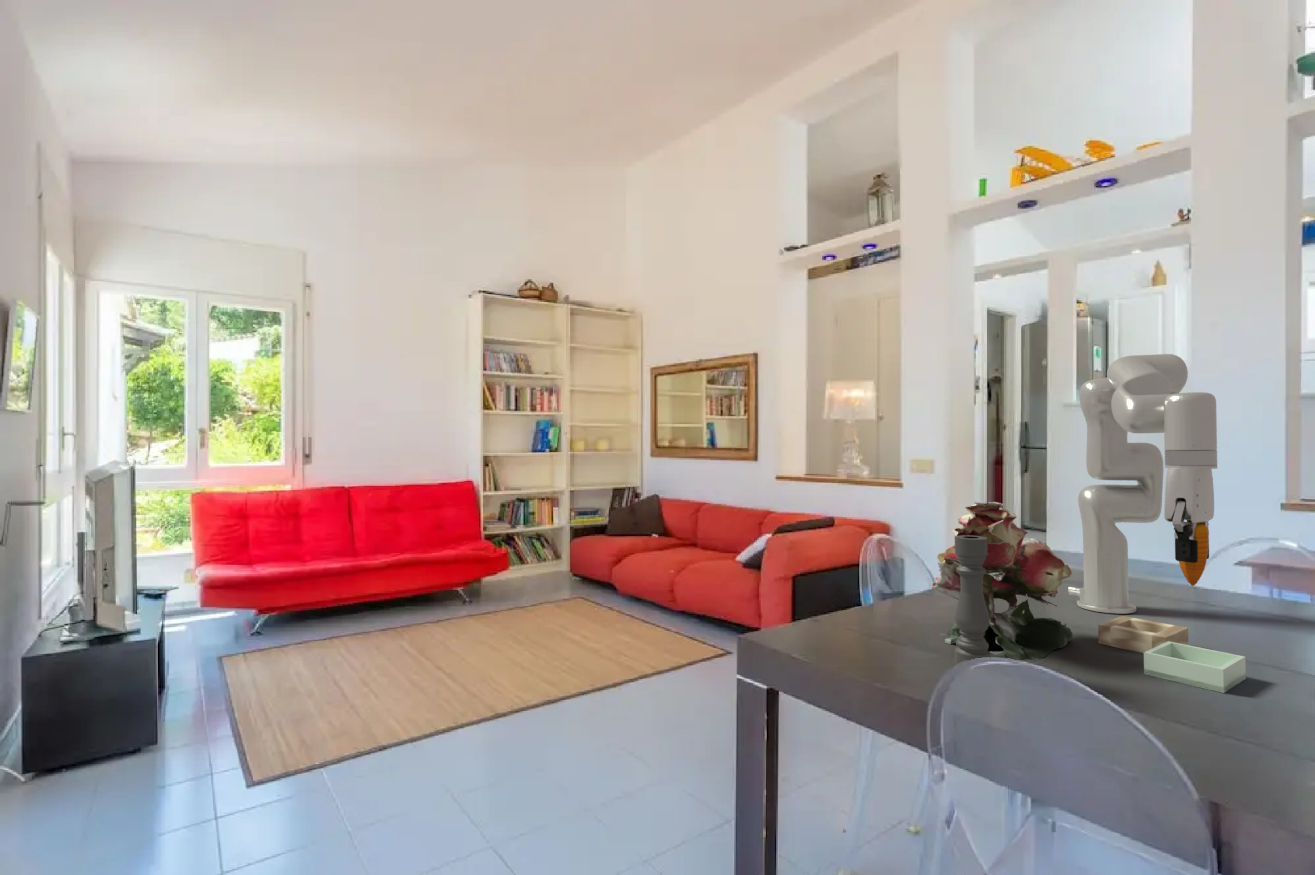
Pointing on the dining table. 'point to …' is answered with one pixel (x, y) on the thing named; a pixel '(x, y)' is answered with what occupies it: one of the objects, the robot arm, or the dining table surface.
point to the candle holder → (971, 598)
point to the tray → (1195, 666)
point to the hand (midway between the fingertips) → (1192, 558)
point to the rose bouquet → (1009, 583)
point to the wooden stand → (1139, 634)
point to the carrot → (1196, 569)
